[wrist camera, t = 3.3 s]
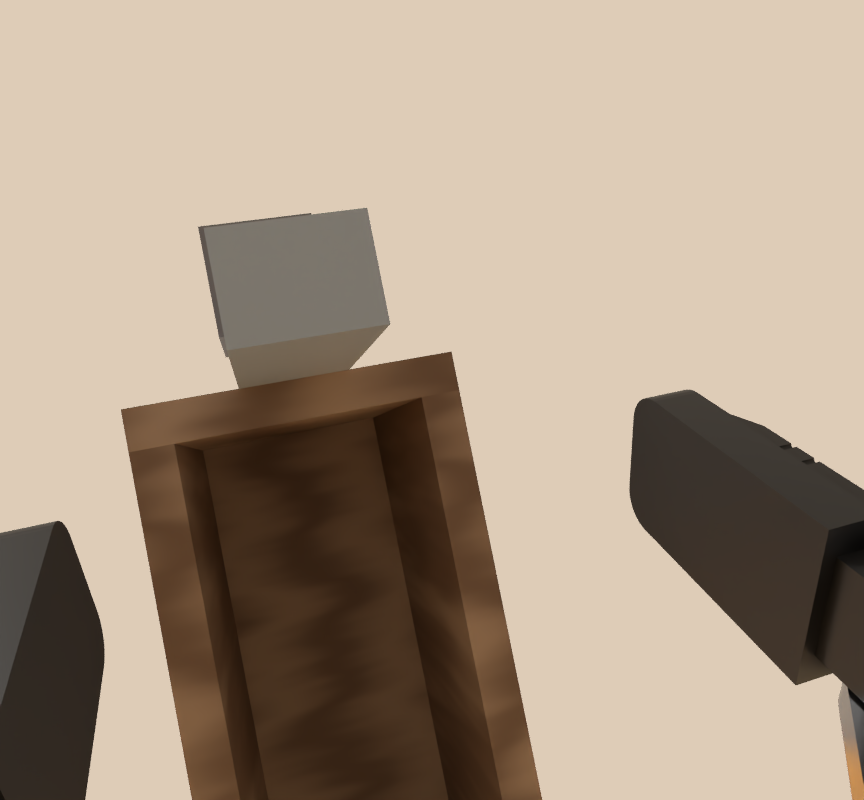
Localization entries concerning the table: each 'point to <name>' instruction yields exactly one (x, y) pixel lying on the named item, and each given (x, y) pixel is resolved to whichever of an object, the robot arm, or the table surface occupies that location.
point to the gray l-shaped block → (294, 294)
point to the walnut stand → (330, 590)
